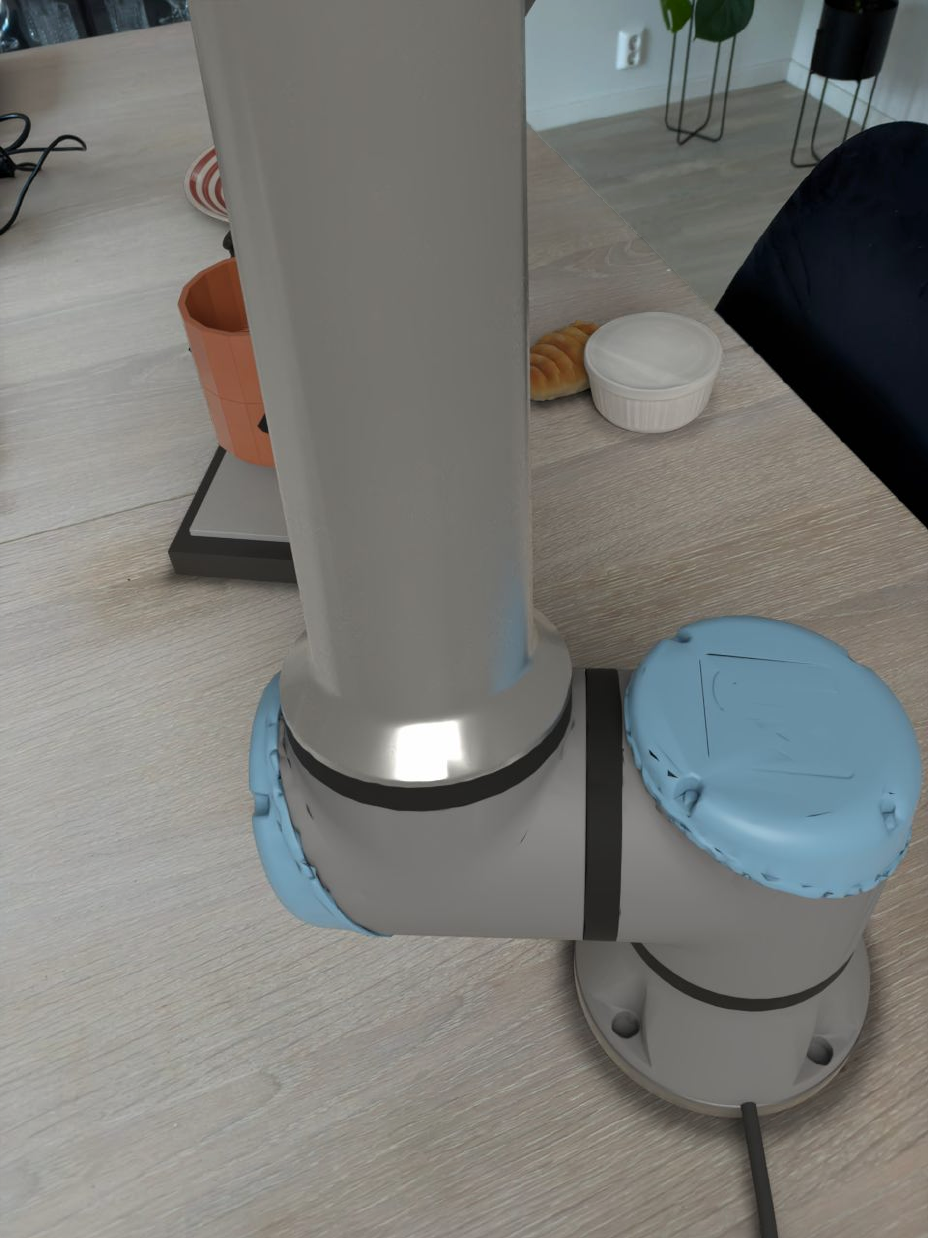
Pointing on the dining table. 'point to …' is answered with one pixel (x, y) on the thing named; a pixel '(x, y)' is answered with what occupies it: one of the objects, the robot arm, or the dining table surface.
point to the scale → (235, 525)
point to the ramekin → (652, 370)
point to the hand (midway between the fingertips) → (239, 395)
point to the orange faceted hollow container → (226, 360)
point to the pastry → (560, 362)
